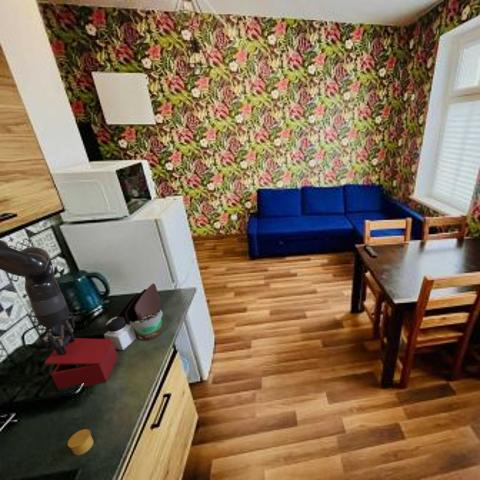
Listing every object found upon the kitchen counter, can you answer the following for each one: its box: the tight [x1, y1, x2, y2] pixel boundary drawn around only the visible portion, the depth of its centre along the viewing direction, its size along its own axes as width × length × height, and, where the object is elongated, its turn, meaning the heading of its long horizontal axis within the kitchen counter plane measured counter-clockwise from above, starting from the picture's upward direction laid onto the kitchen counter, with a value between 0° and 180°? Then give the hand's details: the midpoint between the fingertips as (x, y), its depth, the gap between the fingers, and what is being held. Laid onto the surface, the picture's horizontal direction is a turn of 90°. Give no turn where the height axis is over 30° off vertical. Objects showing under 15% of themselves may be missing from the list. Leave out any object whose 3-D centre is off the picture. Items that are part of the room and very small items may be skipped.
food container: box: [130, 307, 164, 341], centre depth 114 cm, size 12×6×10 cm, turn 137°
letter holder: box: [116, 282, 162, 331], centre depth 124 cm, size 10×20×14 cm, turn 8°
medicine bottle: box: [103, 316, 138, 351], centre depth 110 cm, size 7×7×12 cm
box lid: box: [44, 335, 112, 365], centre depth 93 cm, size 14×12×5 cm
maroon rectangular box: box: [50, 342, 119, 390], centre depth 97 cm, size 14×12×8 cm
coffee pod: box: [67, 428, 94, 456], centre depth 75 cm, size 5×5×4 cm
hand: (66, 347), depth 92 cm, fingers closed on box lid, 5 cm apart
